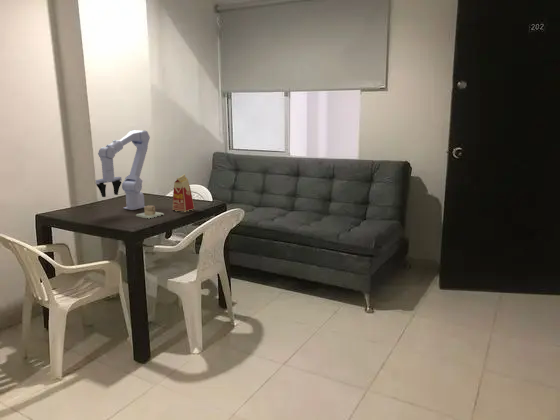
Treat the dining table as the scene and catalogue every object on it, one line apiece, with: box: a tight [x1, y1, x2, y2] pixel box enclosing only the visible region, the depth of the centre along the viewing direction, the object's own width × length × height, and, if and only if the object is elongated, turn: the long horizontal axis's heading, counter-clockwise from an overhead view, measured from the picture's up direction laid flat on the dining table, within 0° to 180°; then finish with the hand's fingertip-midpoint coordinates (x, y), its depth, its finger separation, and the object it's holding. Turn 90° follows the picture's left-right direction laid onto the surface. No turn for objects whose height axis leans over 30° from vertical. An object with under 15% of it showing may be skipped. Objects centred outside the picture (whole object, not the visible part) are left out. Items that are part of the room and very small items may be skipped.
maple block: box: [143, 205, 156, 215], centre depth 245 cm, size 4×4×4 cm
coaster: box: [135, 211, 165, 220], centre depth 245 cm, size 10×10×1 cm
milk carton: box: [172, 173, 195, 213], centre depth 256 cm, size 9×9×20 cm
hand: (110, 195), depth 247 cm, fingers open, 7 cm apart
